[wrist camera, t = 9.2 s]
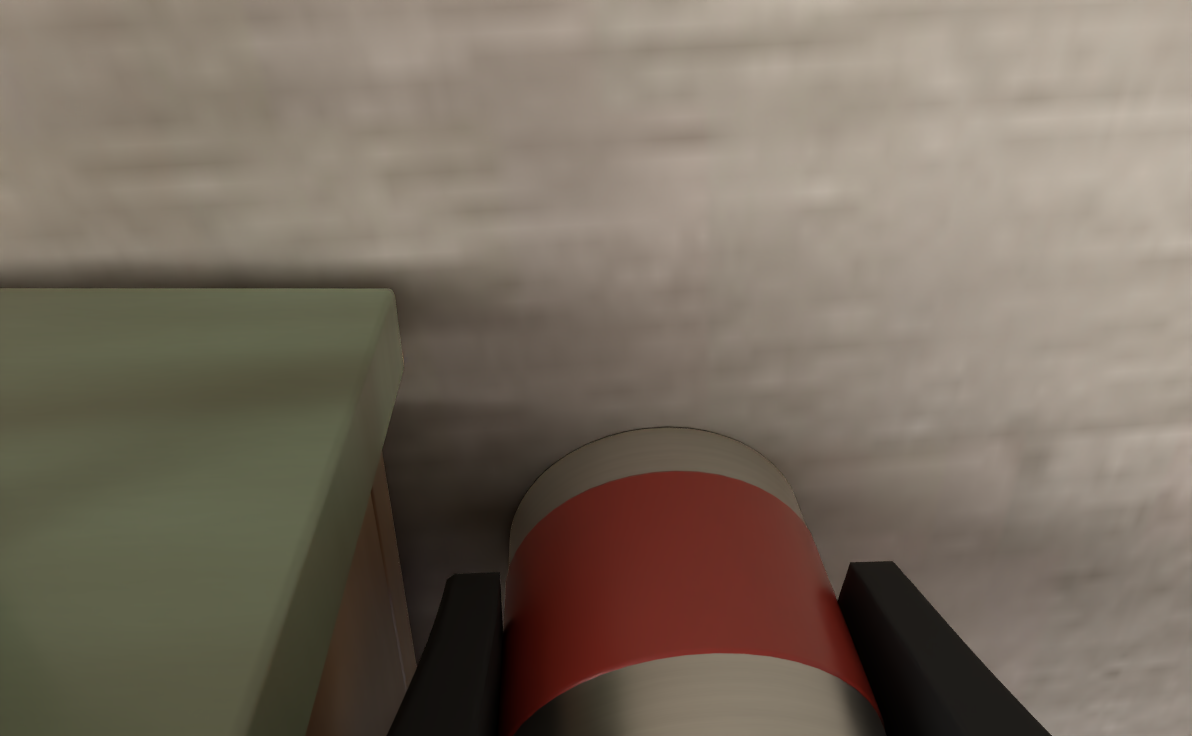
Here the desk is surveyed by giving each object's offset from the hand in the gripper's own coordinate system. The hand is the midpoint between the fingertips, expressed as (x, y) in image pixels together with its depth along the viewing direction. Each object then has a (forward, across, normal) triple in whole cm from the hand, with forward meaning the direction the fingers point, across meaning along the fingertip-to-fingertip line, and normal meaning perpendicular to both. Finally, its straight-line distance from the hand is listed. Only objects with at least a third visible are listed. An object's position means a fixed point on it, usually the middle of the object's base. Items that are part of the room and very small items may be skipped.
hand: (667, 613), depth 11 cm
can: (+2, 0, +1) cm, 2 cm away
